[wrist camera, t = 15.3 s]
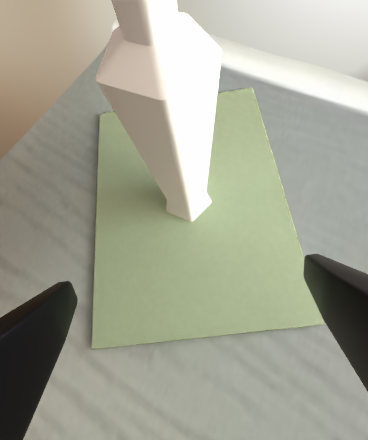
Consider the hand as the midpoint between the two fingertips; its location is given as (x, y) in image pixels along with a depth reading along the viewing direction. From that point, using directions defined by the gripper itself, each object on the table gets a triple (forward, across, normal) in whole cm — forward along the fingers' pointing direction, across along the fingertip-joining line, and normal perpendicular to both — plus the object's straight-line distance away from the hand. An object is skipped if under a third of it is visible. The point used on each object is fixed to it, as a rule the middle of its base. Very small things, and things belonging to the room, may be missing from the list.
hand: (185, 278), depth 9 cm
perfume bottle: (+12, 0, +1) cm, 12 cm away
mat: (+12, 0, +1) cm, 12 cm away
